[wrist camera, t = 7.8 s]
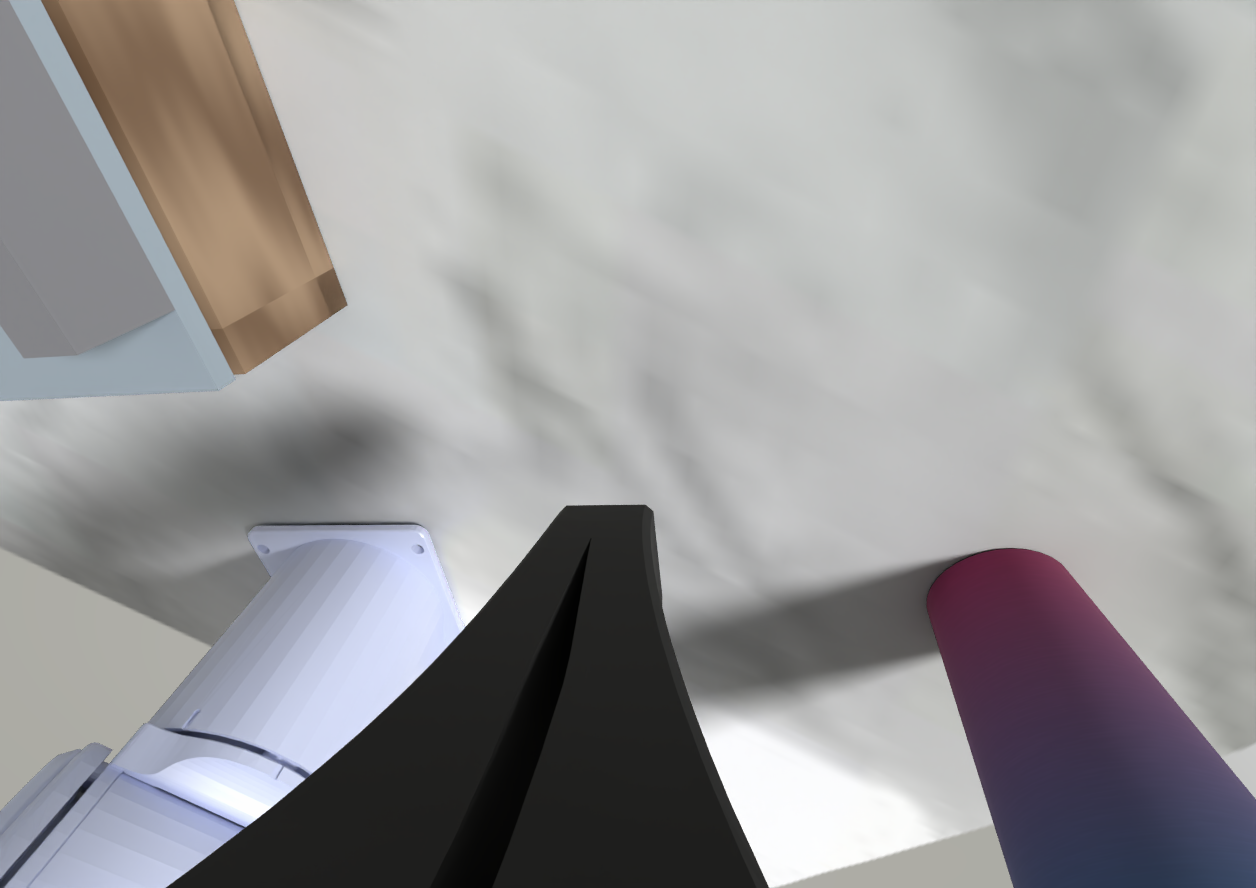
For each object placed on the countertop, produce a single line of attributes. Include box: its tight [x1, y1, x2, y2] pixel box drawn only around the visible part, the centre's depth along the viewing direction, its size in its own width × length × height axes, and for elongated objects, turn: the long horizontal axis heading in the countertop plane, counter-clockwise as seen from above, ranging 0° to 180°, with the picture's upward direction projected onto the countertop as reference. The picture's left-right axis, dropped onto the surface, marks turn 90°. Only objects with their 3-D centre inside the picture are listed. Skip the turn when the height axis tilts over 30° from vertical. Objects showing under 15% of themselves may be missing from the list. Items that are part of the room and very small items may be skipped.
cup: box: [926, 549, 1256, 888], centre depth 16 cm, size 7×7×15 cm
